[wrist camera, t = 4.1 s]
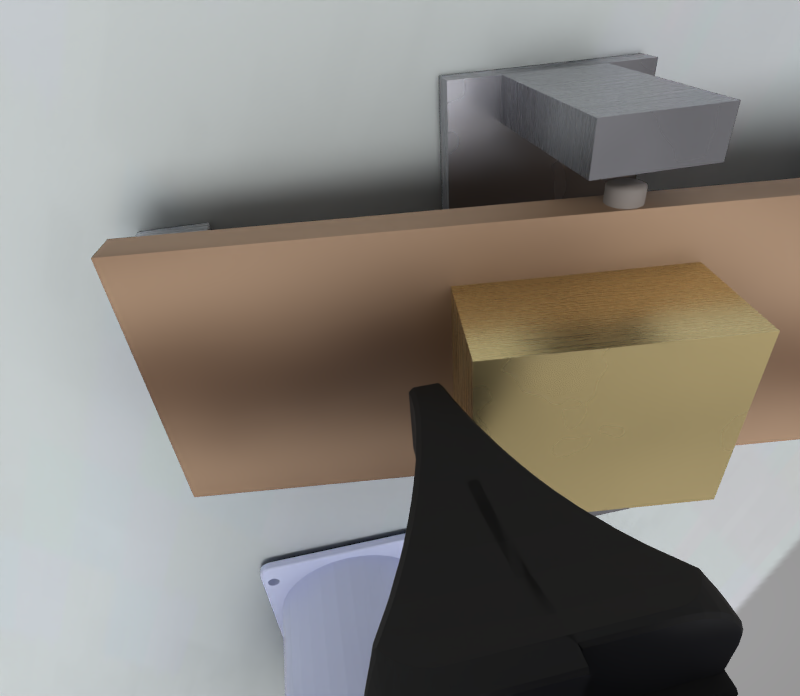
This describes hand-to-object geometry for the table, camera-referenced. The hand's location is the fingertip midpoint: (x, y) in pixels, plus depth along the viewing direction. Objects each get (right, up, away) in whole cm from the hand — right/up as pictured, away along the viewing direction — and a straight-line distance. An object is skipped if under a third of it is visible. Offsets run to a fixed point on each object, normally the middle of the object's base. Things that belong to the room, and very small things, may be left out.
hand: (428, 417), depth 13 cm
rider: (+4, +1, +2) cm, 4 cm away
